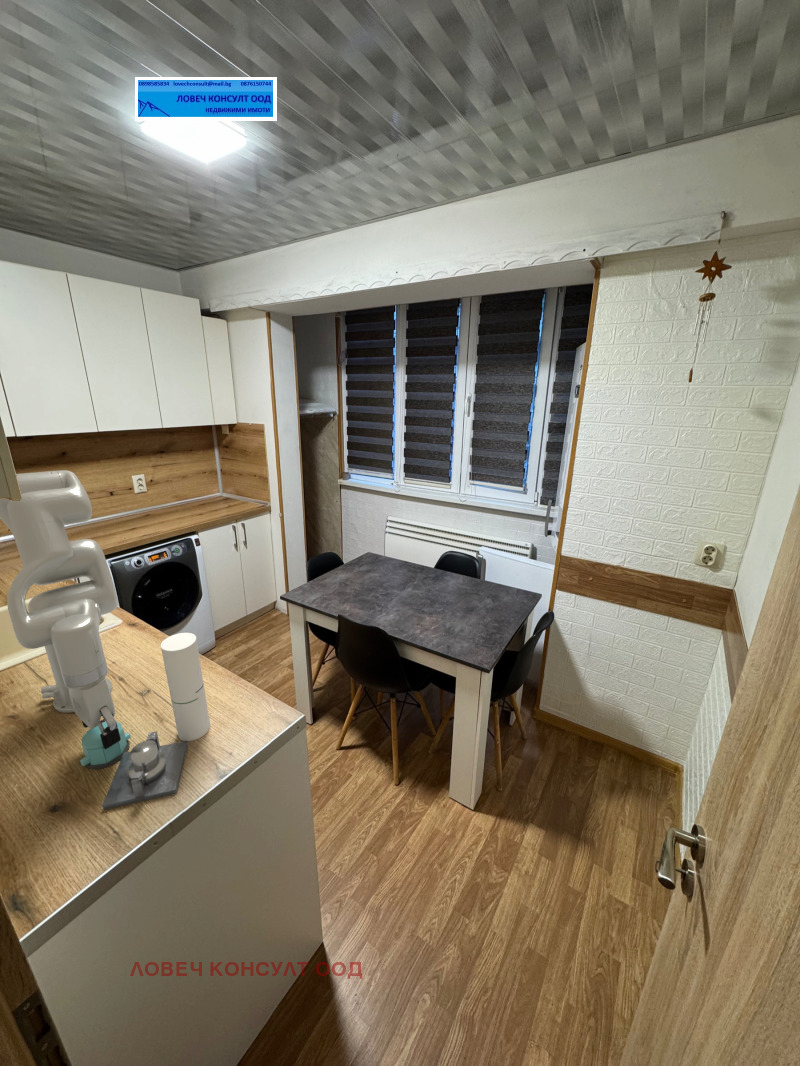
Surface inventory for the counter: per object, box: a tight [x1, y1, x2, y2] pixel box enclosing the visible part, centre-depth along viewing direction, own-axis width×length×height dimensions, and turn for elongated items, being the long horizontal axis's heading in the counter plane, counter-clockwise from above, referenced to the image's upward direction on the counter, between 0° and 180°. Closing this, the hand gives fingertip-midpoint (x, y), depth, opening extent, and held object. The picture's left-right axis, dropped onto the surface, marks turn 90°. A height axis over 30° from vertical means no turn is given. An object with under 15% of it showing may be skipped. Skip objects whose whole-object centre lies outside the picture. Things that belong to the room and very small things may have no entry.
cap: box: [79, 720, 131, 767], centre depth 94 cm, size 10×7×5 cm
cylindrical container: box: [160, 632, 211, 742], centre depth 98 cm, size 7×7×25 cm
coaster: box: [85, 739, 130, 770], centre depth 94 cm, size 8×8×1 cm
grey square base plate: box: [102, 731, 189, 811], centre depth 89 cm, size 13×13×7 cm
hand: (102, 733), depth 94 cm, fingers open, 9 cm apart
